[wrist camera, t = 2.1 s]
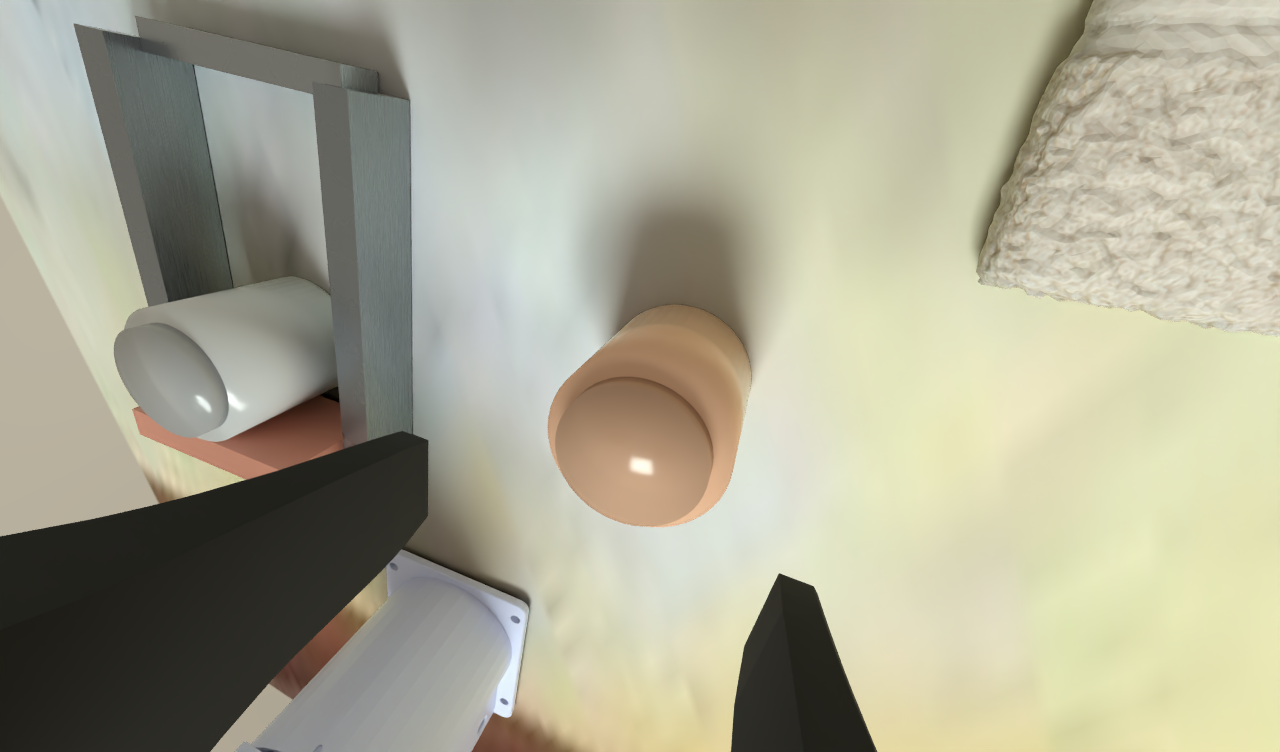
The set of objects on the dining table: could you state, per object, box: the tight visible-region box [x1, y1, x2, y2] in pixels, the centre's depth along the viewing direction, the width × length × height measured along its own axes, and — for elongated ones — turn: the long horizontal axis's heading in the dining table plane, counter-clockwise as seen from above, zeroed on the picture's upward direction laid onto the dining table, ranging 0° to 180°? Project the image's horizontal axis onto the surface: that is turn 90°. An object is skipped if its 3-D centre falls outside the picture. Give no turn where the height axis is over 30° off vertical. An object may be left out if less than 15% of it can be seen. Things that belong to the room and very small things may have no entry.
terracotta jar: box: [548, 304, 751, 527], centre depth 14 cm, size 5×5×6 cm
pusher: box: [132, 395, 344, 480], centre depth 21 cm, size 2×7×4 cm, turn 77°
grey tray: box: [74, 16, 412, 449], centre depth 19 cm, size 17×10×2 cm, turn 167°
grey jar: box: [114, 277, 338, 442], centre depth 19 cm, size 5×5×6 cm
